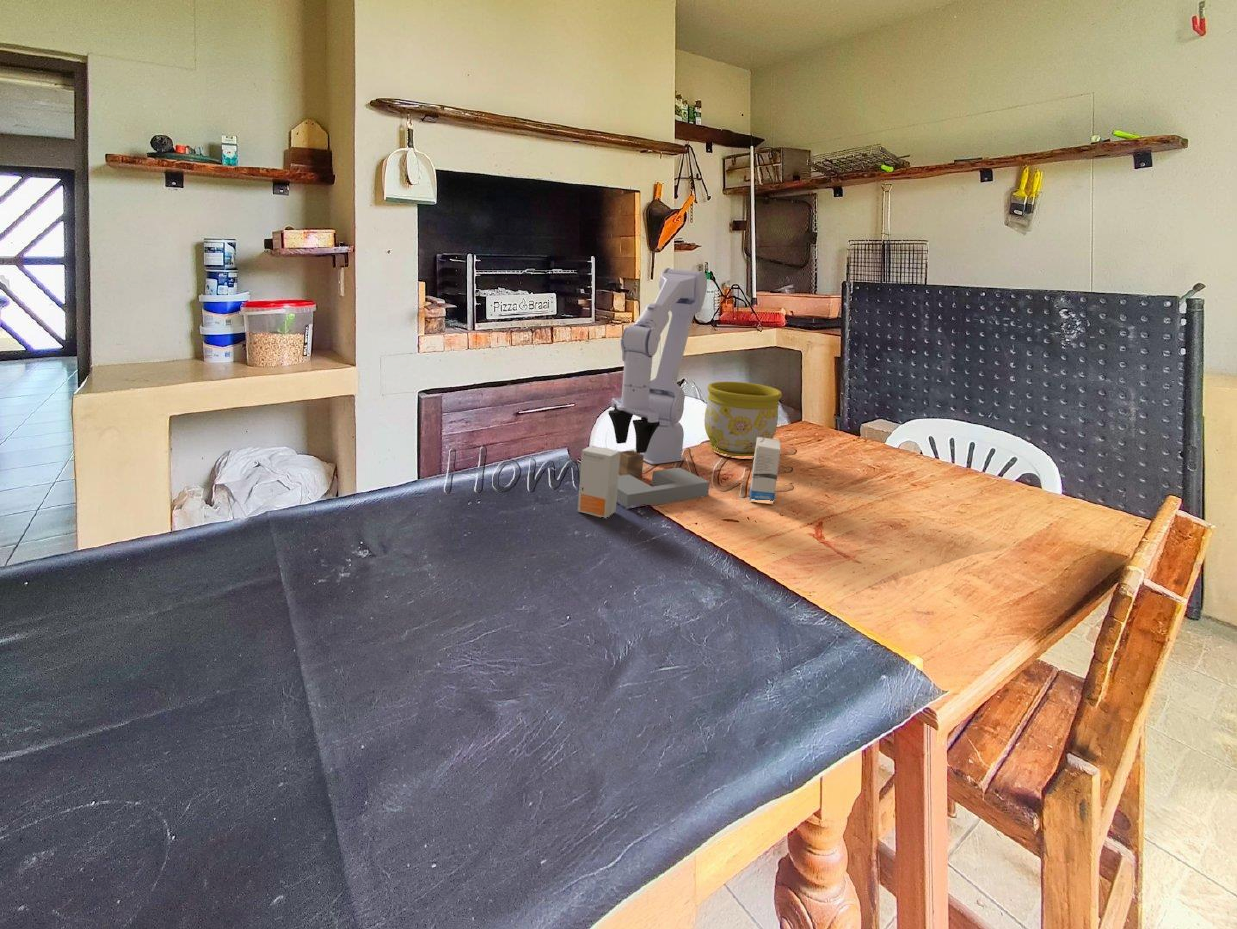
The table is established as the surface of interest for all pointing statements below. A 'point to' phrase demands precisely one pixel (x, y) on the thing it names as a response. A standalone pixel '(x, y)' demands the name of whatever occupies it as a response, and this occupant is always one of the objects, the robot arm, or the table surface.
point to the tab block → (631, 463)
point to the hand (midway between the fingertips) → (631, 447)
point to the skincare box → (598, 481)
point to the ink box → (765, 469)
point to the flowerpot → (740, 416)
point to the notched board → (661, 488)
